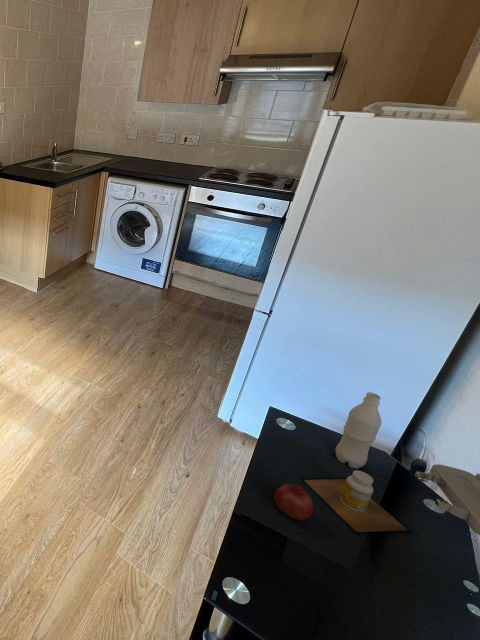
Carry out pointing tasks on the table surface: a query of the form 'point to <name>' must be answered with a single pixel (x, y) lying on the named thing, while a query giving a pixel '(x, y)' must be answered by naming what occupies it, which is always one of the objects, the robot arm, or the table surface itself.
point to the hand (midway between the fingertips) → (426, 488)
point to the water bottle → (360, 432)
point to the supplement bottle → (357, 491)
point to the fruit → (294, 501)
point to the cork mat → (359, 521)
